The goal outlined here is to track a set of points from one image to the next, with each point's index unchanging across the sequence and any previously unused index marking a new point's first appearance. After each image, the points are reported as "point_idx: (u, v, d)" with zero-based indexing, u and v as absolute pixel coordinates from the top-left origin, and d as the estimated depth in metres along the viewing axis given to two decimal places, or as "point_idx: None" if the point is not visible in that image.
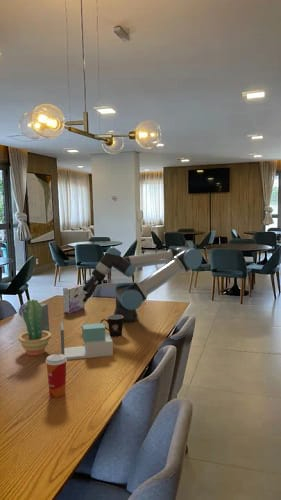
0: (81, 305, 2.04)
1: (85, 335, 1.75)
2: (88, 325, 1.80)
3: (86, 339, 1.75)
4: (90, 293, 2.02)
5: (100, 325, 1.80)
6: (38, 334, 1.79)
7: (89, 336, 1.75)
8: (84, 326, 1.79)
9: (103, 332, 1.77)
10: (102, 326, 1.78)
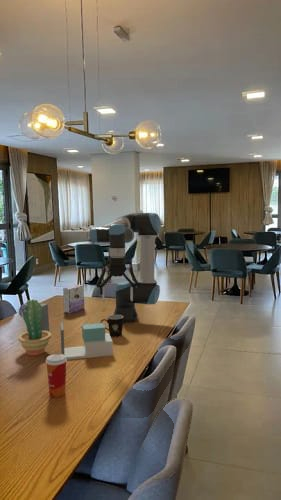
0: None
1: (85, 335, 1.75)
2: (88, 325, 1.80)
3: (86, 339, 1.75)
4: (137, 281, 1.83)
5: (100, 325, 1.80)
6: (38, 334, 1.79)
7: (89, 336, 1.75)
8: (84, 326, 1.79)
9: (103, 332, 1.77)
10: (102, 326, 1.78)
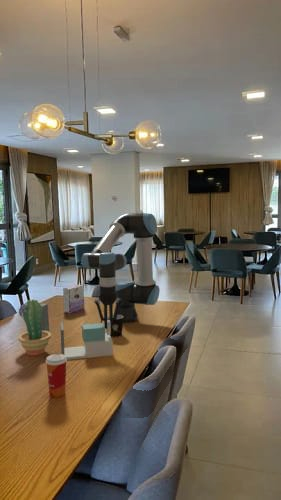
0: None
1: (85, 335, 1.75)
2: (88, 325, 1.80)
3: (86, 339, 1.75)
4: None
5: (99, 325, 1.80)
6: (38, 334, 1.79)
7: (89, 336, 1.75)
8: (84, 326, 1.79)
9: (103, 332, 1.77)
10: (102, 326, 1.78)
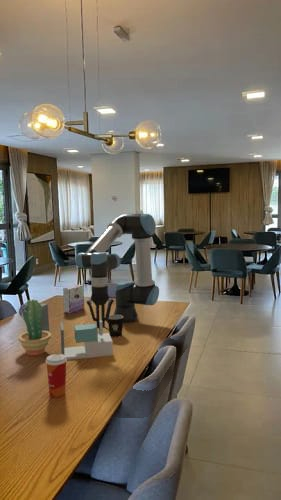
0: None
1: (77, 336, 1.74)
2: (80, 326, 1.79)
3: (78, 340, 1.74)
4: None
5: (92, 326, 1.79)
6: (38, 334, 1.79)
7: (81, 337, 1.74)
8: (76, 327, 1.78)
9: (95, 333, 1.76)
10: (94, 327, 1.77)
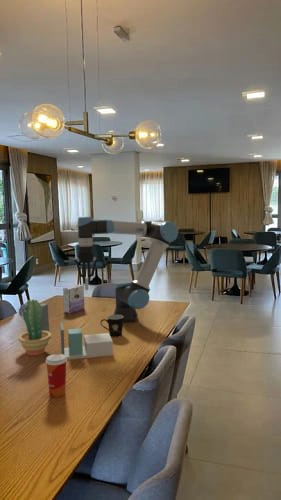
0: None
1: (76, 352, 1.74)
2: None
3: (80, 351, 1.75)
4: None
5: (68, 335, 1.76)
6: (38, 334, 1.79)
7: (77, 348, 1.74)
8: None
9: (74, 335, 1.73)
10: (68, 334, 1.75)
